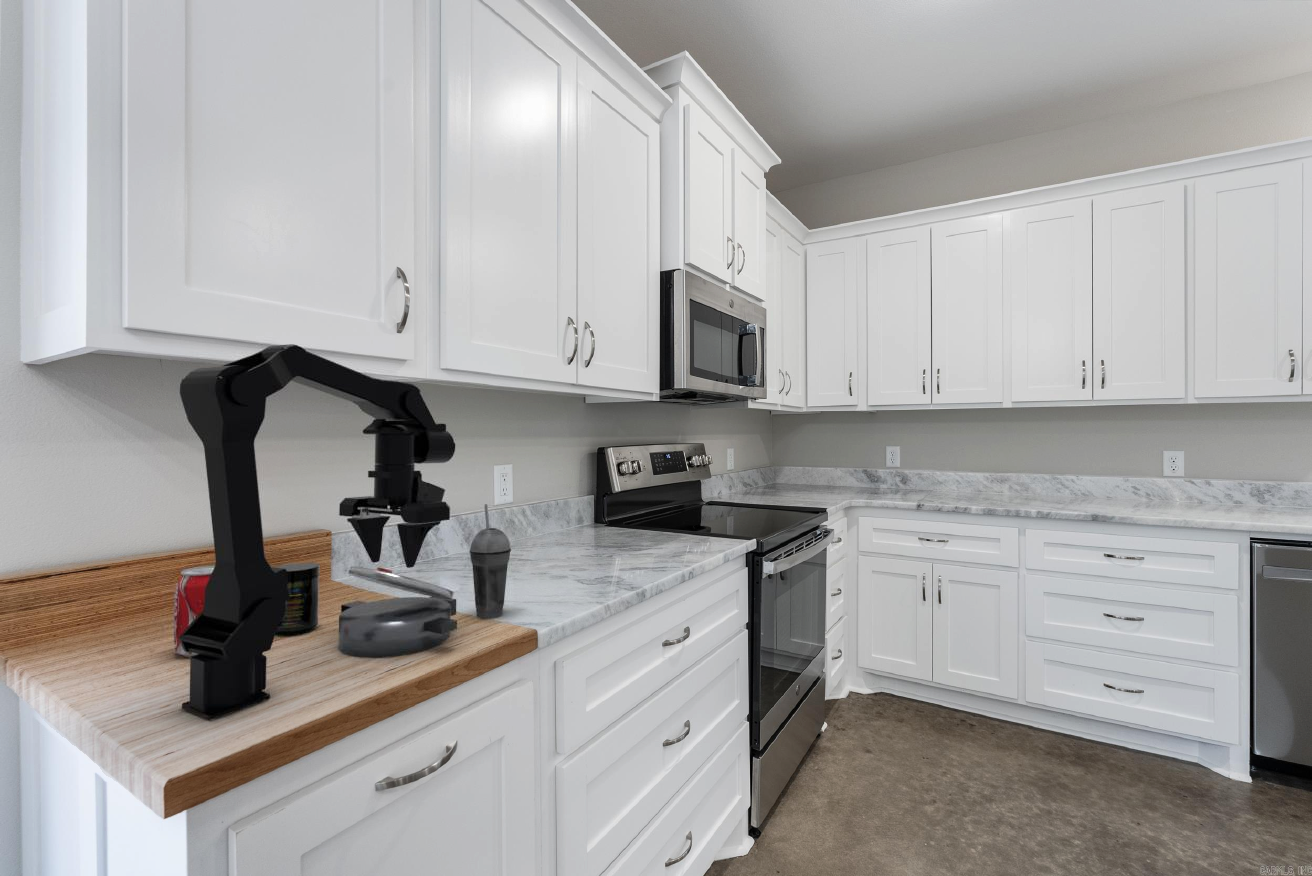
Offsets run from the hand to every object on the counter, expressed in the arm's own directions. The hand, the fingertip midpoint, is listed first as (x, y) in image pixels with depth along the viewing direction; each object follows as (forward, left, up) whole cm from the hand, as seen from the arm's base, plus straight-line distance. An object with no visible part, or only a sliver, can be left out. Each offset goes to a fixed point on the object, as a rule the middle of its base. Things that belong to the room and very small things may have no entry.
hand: (392, 564), depth 91 cm
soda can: (-16, +20, -12) cm, 28 cm away
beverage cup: (+18, -3, -12) cm, 22 cm away
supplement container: (-4, +18, -12) cm, 22 cm away
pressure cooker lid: (+2, 0, -4) cm, 4 cm away
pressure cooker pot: (+1, 0, -12) cm, 12 cm away
